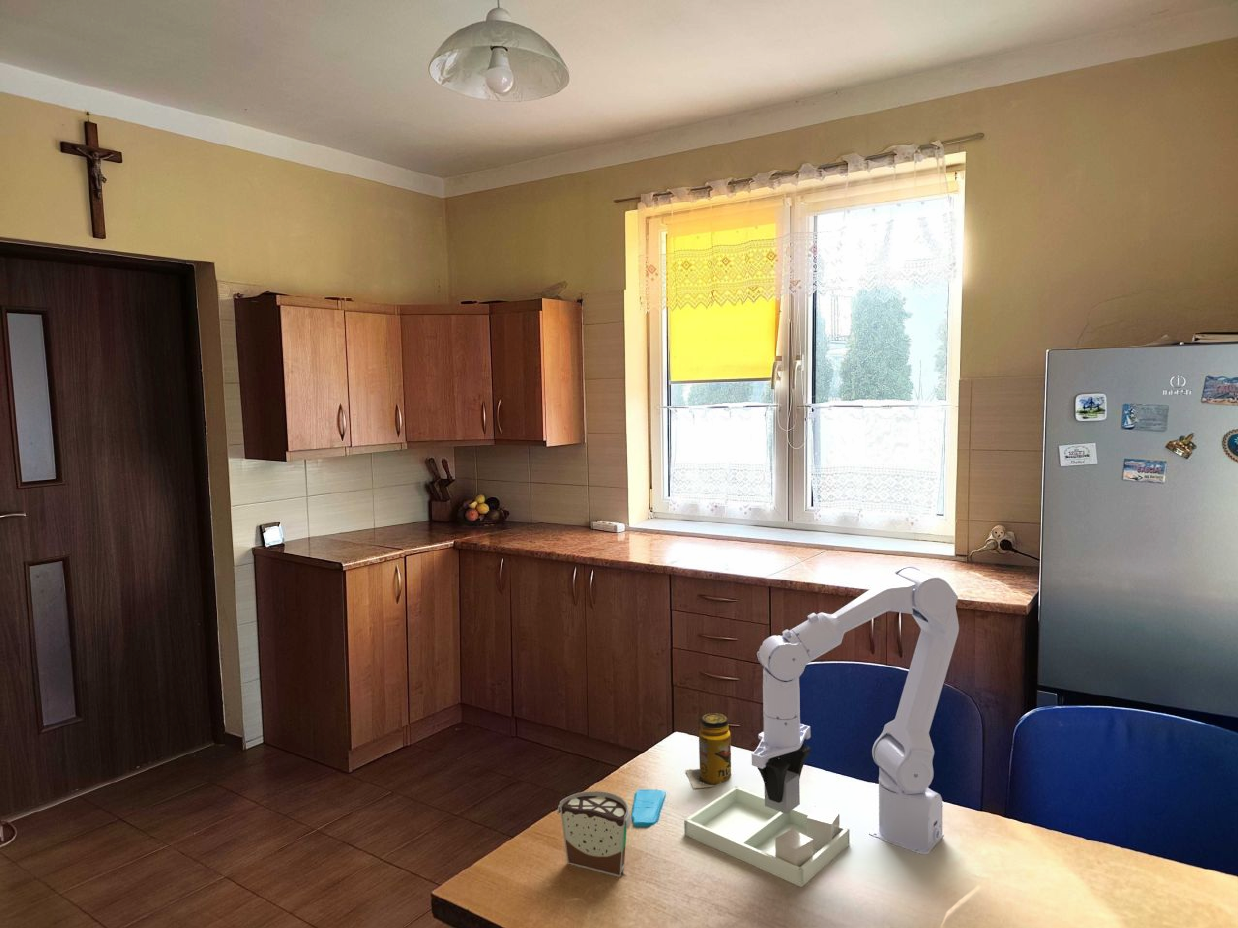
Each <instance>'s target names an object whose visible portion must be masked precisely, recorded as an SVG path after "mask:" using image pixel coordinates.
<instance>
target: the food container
mask: <svg viewBox="0 0 1238 928" xmlns="http://www.w3.org/2000/svg"><path fill="white" fill-rule="evenodd" d="M559 814H560V818H561V826H562V832H563V840H564V841H563V842H564V848H565V849H564V850H565V855H566V864H567V865H570V864H571V866H574V865H575V867H579V868H584V869H586V870H590V871H595V872H599V873H603V874H607V875H611V876H615V877H618V878H622V876H623V874H624V870H625V858H626V857H625V856H626V843H627V831H628V830H629V829H630V827H631V824H632V821H633V820H632V818H631V815H632V814H631V812H630V808H629V806H628V804H627V802H626V801H625V800H624V799H623V798H622V797H621V796H618V795H617V794H615V793H611V792H608V791H602V790H601V791H599V790H591V791H588V790H587V791H582V792H577V793H574V794H571V795H569V796H567V797H565V798H562V800H560V801H559V805H558V806H557V815H559Z"/></svg>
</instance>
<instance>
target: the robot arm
mask: <svg viewBox="0 0 1238 928" xmlns="http://www.w3.org/2000/svg"><path fill="white" fill-rule="evenodd" d="M958 600H959V596H958V595H957V593H956V592H955V591H954V589H953V588H952V587H951V585H950V584H949V583H948V582H947V581H946V580H945V579H943V578H940V577H936V576H933V575H931V574H929V573H926V572H924V571H922V570H920V569H919V568H917V567H914V566H910V565H908V566H907V565H905V566H903V567H900V568H898V569H897V570H896V571H894V572H891V573H889V574H886V575H885V576H884V577H883V578H882V579H881V580H880V582H878V584H876V585H874V586H873V587H871V588H870V589H868V590H867V591H866V592H864V593H862V594H861V595H859V596H858V597H856V598H855V599H853V600H851V601H850V602H849V603H847V604H846V605H844V606H843V607H841V608H840V609H838V610H836V611H835V612H834V613H825V612H819V613H815V612H812V613H810V614H808V615H807V620H805V621H803V622H802V623H800V624H798V625H797V626H795V627H793V628H791V629H790V630H789V629H785V630H783V631H782V632H781V633H782V635H771V636H769V637H767V638H766V639H764V640H763V642H762V645H760V646H759V650H758V651H757V652H756V655H757V659H758V662H759V664H760V665H761V666H763V668H762V675H763V676H762V703H763V706H762V707H763V711H762V713H763V716H762V717H763V731H761V732H760V733H758V740H760V742H759V744H758V746H757V747H756V749H755V750H754V751H753V752H751V766H753V767H756V768H757V770H758V771H759V773H760V776H761V778H762V781H763V783H764V788H765V787H766V791H767V794H768V798H769V799H770V800H772V801H775V802H778V803H780V802H782V798H783V791H784V781H785V776H786V773H787V770H788V771H791V772H794V773H797V774H799V780H800V779H801V774H802V770H803V767H804V765H805V762H806V760H807V758H808V757H809V755H810V753H811V747H810V746H809V745H806V744H803V743H804V741H805V740H809V739H810V738H811V726H810V725H808V724H807V725H806V724H803V723H801V710H800V709H801V708H800V707H801V706H800V705H801V704H800V703H801V702H800V697H801V696H800V677H801V675H802V674H803V673H804V671H805V669H806V668H805V667H806V666H807V665H808V664H810V663H811V662H812V661H813V662H814V660H816V659H818V658H819V657H821V656H822V655H824V654H826V653H828V652H829V651H832V650H833V649H834V648H836V647H838V646H840V645H841V644H842V641H843V639H844V635H845V634H846V633H847V632H850V631H851V630H853V629H855V628H857V627H860V626H861V625H863V624H865V623H867V622H869V621H871V620H873V619H875V618H877V617H879V616H881V615H882V614H885V613H887V612H895V613H896V612H897V613H900V614H901V613H902V614H909V615H910V614H911V616H912V617H913V619H914V620H915V622H916V624H917V625H918V627H919V628H920V632H919V635H918V639H917V643H916V645H915V649H914V652H913V656H912V659H911V663H910V667H909V668H908V669H909V670H908V674H907V676H906V680H905V683H904V686H903V690H902V693H901V696H900V699H899V704H898V708H897V711H896V714H895V718H894V719H893V720H891V721H889V722H887V723H886V724H884V727H883V730H882V732H881V734H880V735H879V736H878V737H877V739H876V740H875V741H874V744H872V745H873V746H872V747H871V748H872V750H871V753H872V754H871V757H872V758H873V762H874V763H875V764H876V765H877V766H878V767H879V770H878V771H879V775H878V824H877V825H876V826H875V827H873V829H872V830H871V831H870V832H868V835H869V836H871V837H874V838H876V839H878V840H882V841H885V842H888V843H890V844H893V845H896V846H898V847H901V848H903V849H906V850H909V851H912V852H914V853H917V854H919V855H923V856H926V855H928V854H929V852H930V851H931V850H932V849H933V848H934V847H935V846H936V845H937V844H938V843H939V842H940V841H941V839H943V837H944V836H945V834H944V833H943V798H942V796H941V794H940V793H938V792H937V791H934V790H932V789H931V788H929V787H930V785H931V784H932V781H933V779H934V774H935V772H934V767H933V759H934V755H935V749H934V747H933V743H932V739H931V736H930V730H931V728H932V723H933V720H934V716H935V714H936V710H937V706H938V703H939V700H940V697H941V693H942V690H943V685H944V684H945V683H944V682H945V679H946V677H947V673H948V669H949V666H950V662H951V659H952V656H953V653H954V649H955V645H956V642H957V639H958V635H959V631H960V624H959V618H958V613H957V612H958V611H957V609H956V606H957V603H958Z"/></svg>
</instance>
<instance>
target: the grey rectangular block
mask: <svg viewBox="0 0 1238 928" xmlns="http://www.w3.org/2000/svg"><path fill="white" fill-rule="evenodd" d="M800 793H801V792H800V779H799V774H797V773H794V772H791V771H788V770H787V773H786V776H785V781H784V791H783V798H782V802H780V803H778V802H775V801H772V800H770V799H769V798H768V794H767V791H766V787H765V786H764V797H765V806H766V807H769V808H772V809H774V810H777V811H780V812H782V813H785V814H788V813H789V812H790V811H791V810H793V809H794V808H795V809H796V808H798V806H800V803H801V802H800V801H801V800H800V799H801V798H800Z"/></svg>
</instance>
